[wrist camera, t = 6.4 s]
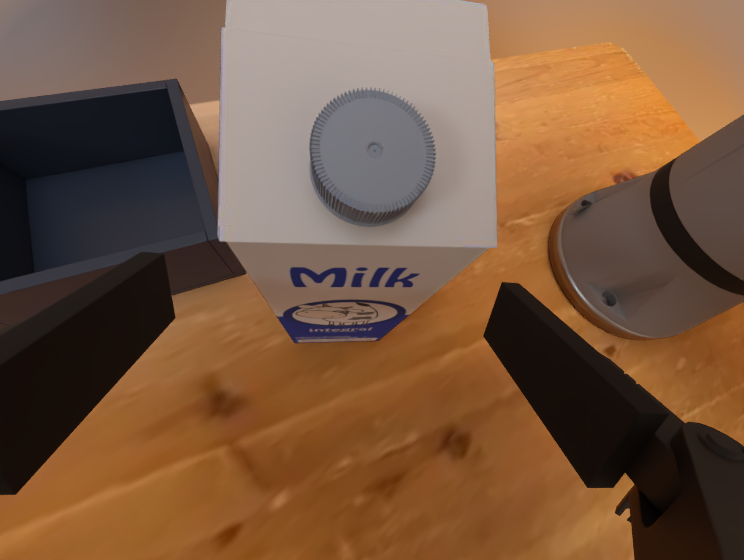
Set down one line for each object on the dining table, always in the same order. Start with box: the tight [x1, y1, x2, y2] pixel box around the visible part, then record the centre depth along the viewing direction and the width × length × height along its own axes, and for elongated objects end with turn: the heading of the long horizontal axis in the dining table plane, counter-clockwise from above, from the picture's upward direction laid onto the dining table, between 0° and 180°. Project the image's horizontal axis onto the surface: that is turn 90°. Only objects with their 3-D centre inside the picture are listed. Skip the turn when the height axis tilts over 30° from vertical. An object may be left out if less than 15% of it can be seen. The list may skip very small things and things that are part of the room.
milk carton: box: [218, 0, 497, 343], centre depth 16 cm, size 7×7×20 cm
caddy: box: [0, 79, 246, 329], centre depth 22 cm, size 15×14×7 cm
